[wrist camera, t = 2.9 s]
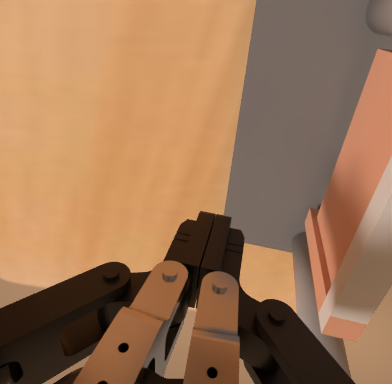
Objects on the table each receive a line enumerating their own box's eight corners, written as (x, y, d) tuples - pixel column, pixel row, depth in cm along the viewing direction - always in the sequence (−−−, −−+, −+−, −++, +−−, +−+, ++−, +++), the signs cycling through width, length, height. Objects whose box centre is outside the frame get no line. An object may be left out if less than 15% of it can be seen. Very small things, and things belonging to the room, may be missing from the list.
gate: (364, 46, 14) (451, 73, 7) (396, 49, 13) (519, 80, 7) (304, 222, 19) (321, 333, 12) (326, 226, 19) (356, 342, 12)
